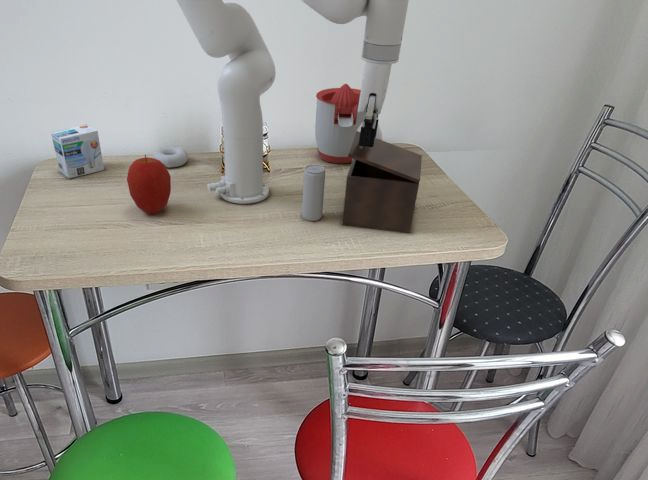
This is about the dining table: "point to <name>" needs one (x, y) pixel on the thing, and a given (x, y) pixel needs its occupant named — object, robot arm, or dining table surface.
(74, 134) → the light bulb box
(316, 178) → the beverage can
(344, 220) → the chest
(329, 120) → the citrus juicer
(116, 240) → the dining table surface
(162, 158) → the donut
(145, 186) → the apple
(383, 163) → the lid
